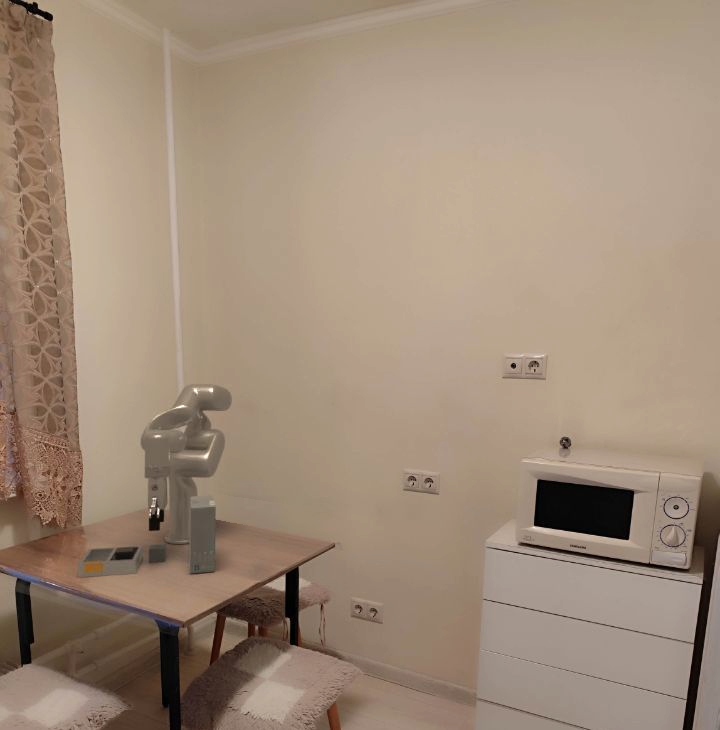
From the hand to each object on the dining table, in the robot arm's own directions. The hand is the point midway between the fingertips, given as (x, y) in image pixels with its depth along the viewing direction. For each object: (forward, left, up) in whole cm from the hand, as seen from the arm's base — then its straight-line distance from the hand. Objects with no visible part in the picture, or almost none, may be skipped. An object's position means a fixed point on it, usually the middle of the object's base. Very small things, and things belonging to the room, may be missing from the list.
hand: (156, 526), depth 182 cm
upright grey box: (0, -1, -11) cm, 11 cm away
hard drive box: (-14, +5, -11) cm, 19 cm away
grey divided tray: (+13, +3, -11) cm, 17 cm away
